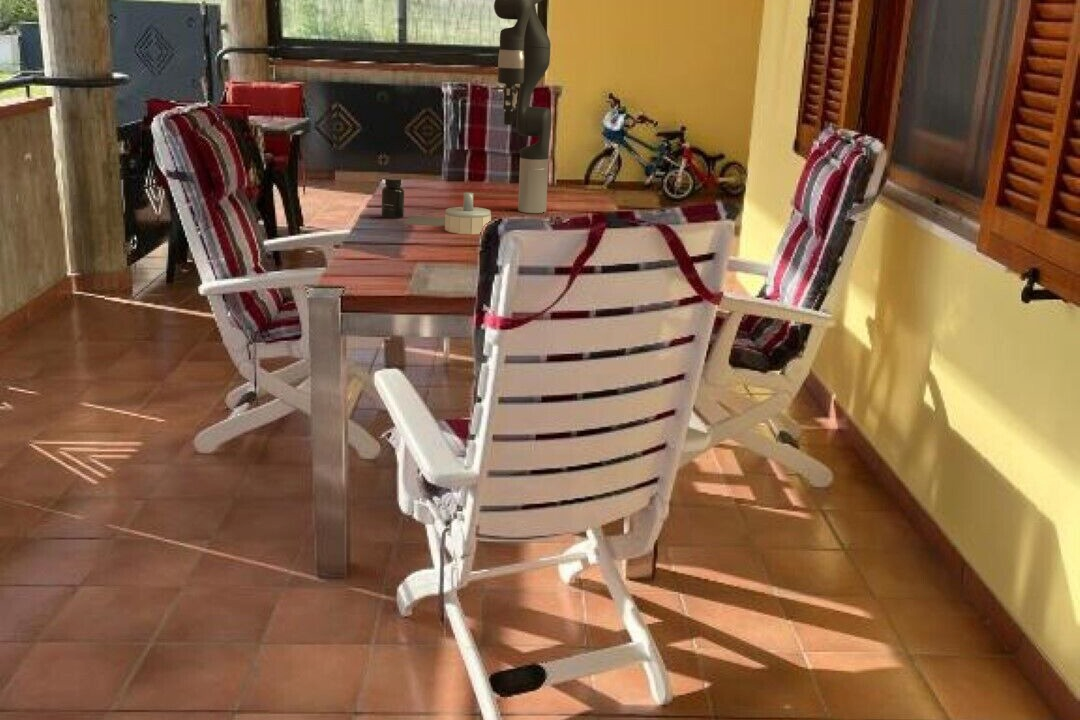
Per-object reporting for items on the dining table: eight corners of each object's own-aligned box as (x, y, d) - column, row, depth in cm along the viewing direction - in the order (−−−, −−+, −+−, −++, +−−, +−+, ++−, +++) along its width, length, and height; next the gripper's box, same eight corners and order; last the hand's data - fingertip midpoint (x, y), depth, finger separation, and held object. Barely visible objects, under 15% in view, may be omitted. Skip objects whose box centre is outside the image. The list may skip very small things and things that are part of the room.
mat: (410, 217, 325) (410, 215, 325) (455, 219, 324) (455, 218, 324) (402, 225, 311) (402, 223, 311) (449, 227, 311) (449, 226, 311)
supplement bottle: (383, 220, 318) (382, 180, 314) (380, 216, 324) (380, 176, 321) (405, 219, 320) (405, 180, 316) (402, 215, 326) (402, 177, 323)
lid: (449, 209, 312) (449, 188, 310) (492, 211, 311) (493, 191, 309) (442, 216, 299) (442, 195, 298) (488, 218, 299) (488, 197, 297)
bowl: (448, 225, 313) (449, 209, 312) (492, 228, 313) (492, 211, 311) (442, 234, 301) (442, 216, 299) (487, 236, 300) (488, 219, 299)
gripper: (522, 67, 298) (520, 126, 303) (525, 66, 311) (523, 122, 316) (495, 66, 298) (494, 125, 303) (500, 65, 312) (499, 120, 316)
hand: (509, 123), depth 310 cm, fingers open, 8 cm apart
